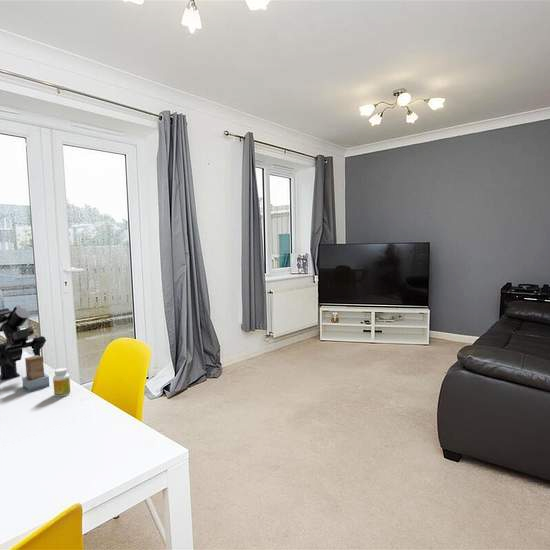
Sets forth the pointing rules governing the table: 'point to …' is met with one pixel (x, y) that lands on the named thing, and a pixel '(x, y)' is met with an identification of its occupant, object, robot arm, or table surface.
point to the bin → (35, 383)
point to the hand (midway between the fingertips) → (27, 363)
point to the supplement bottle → (61, 382)
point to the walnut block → (34, 367)
